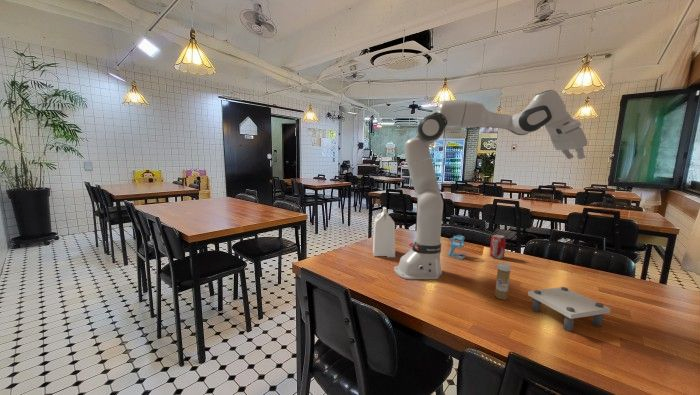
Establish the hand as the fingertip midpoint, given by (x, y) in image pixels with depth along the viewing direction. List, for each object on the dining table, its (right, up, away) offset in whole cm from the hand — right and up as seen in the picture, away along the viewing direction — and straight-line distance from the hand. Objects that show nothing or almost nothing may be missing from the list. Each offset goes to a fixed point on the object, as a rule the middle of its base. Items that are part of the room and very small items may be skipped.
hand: (576, 158), depth 117 cm
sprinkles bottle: (-32, -55, -3) cm, 64 cm away
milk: (-72, -47, +47) cm, 98 cm away
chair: (-32, -48, +43) cm, 73 cm away
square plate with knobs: (-17, -57, -17) cm, 62 cm away
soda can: (-11, -49, +43) cm, 66 cm away
